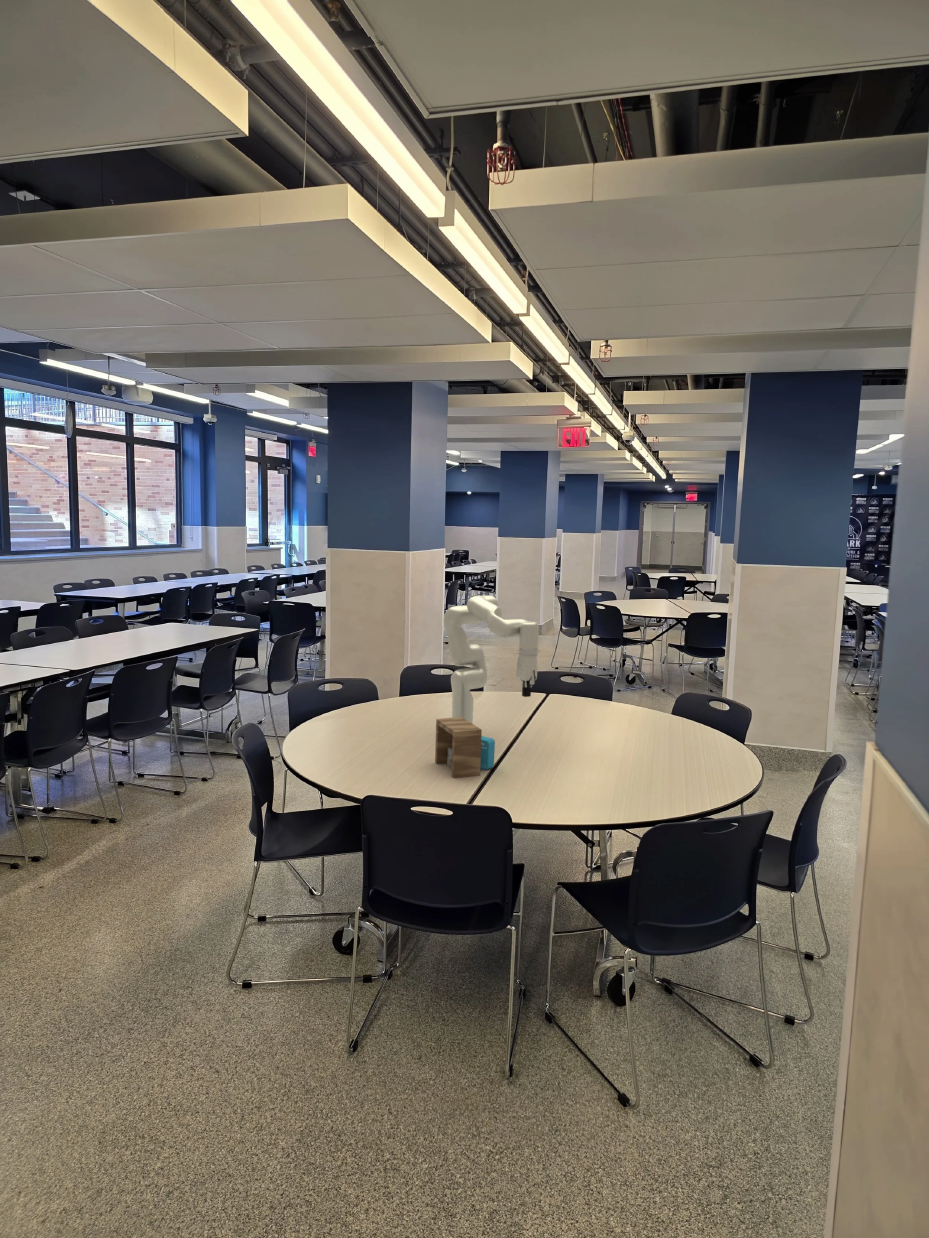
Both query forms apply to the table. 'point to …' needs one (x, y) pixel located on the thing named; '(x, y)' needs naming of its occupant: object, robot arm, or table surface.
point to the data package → (487, 753)
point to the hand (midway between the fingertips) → (526, 696)
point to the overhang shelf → (458, 746)
